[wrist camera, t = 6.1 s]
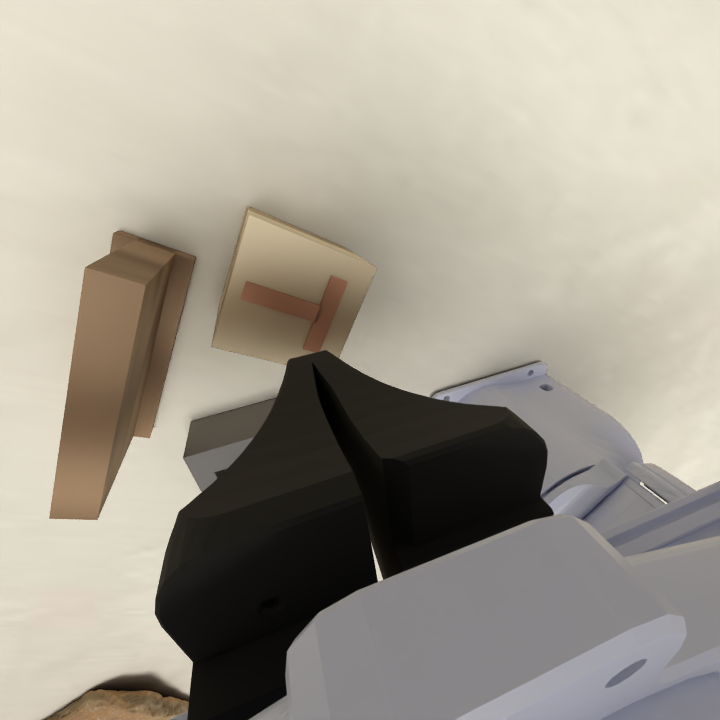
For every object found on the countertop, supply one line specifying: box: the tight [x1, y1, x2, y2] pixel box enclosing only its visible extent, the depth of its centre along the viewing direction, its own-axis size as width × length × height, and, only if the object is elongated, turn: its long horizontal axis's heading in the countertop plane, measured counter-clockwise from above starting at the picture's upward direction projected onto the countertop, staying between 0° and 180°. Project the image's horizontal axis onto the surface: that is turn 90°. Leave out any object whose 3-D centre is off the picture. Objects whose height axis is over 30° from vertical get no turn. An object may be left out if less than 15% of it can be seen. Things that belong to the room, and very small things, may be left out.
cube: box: [211, 206, 377, 365], centre depth 15 cm, size 5×5×5 cm
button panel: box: [183, 398, 276, 492], centre depth 23 cm, size 8×17×3 cm, turn 7°
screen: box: [49, 231, 196, 520], centre depth 14 cm, size 10×3×6 cm, turn 155°
